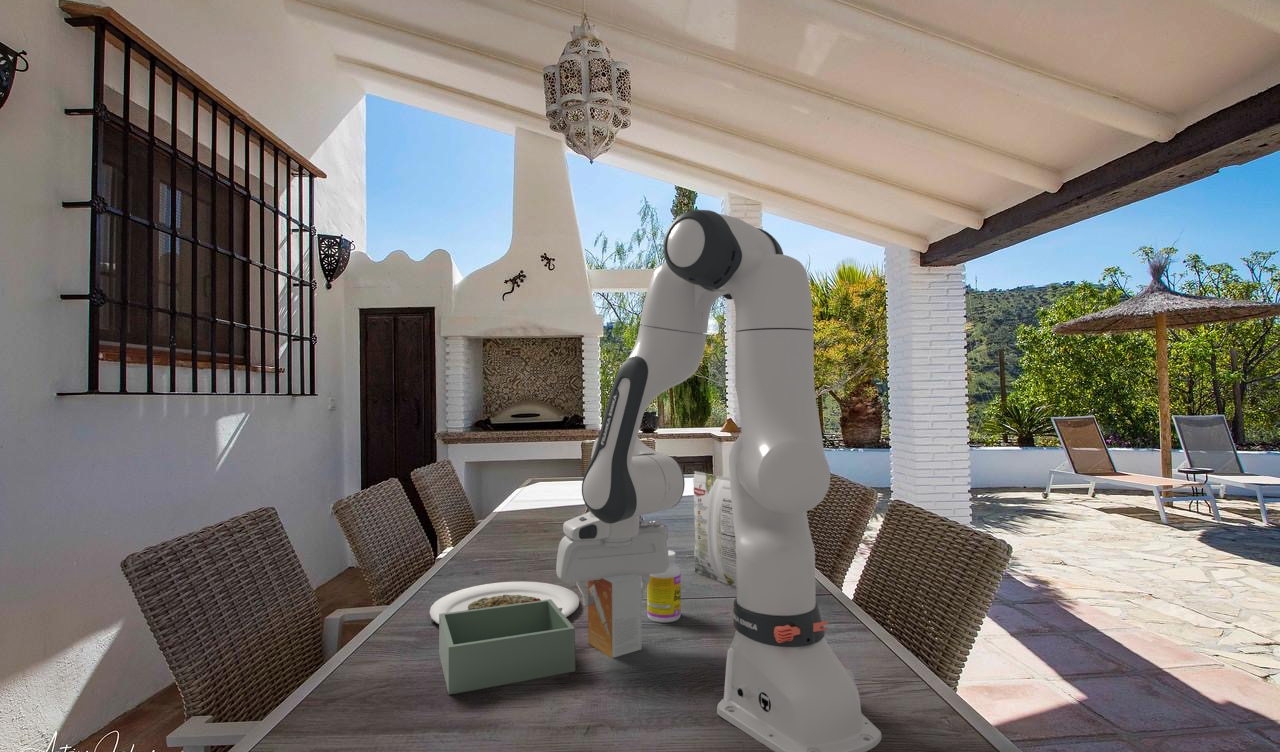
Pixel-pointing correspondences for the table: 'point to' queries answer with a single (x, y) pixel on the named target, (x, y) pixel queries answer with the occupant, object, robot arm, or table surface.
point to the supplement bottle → (665, 594)
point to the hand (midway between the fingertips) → (613, 602)
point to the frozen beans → (714, 528)
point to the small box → (615, 615)
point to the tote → (504, 645)
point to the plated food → (505, 597)
